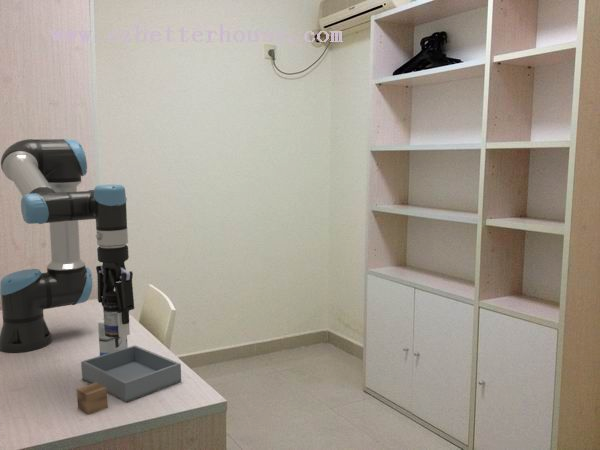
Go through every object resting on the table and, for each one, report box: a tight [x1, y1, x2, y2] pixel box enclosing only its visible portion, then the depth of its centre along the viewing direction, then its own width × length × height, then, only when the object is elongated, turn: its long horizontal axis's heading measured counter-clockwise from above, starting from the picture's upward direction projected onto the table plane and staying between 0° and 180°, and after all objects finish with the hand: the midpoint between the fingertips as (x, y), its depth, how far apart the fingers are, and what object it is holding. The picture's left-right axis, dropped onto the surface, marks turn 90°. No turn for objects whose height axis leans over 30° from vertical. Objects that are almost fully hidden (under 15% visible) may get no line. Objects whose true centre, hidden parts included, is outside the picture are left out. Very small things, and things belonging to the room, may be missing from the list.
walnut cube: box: [76, 383, 109, 415], centre depth 136 cm, size 5×5×5 cm
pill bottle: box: [102, 290, 120, 338], centre depth 146 cm, size 6×6×11 cm
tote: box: [81, 344, 182, 404], centre depth 151 cm, size 22×17×5 cm
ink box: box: [97, 318, 129, 356], centre depth 168 cm, size 8×5×12 cm, turn 168°
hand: (117, 332), depth 147 cm, fingers closed on pill bottle, 6 cm apart
